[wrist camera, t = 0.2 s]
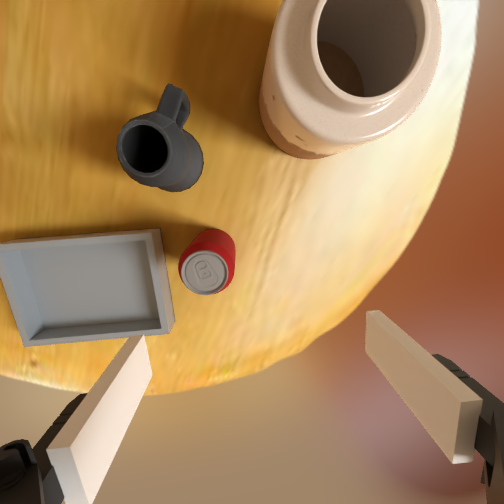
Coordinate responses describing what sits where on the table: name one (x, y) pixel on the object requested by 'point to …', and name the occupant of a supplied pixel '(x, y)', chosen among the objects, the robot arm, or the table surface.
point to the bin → (87, 286)
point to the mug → (162, 145)
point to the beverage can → (208, 262)
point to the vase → (346, 71)
